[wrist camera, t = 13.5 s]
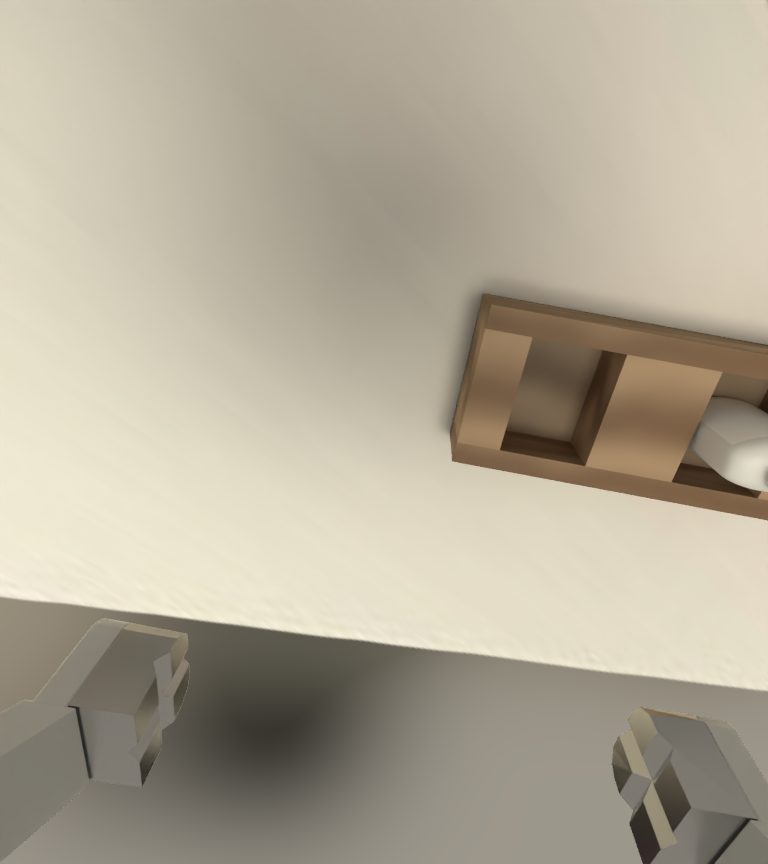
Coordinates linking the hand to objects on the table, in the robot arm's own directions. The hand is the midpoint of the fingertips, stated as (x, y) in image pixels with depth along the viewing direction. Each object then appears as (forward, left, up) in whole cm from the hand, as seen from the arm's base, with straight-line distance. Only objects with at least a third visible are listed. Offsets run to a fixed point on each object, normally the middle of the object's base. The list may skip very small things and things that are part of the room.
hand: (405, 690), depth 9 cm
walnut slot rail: (+2, +16, -30) cm, 34 cm away
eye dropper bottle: (+2, +22, -29) cm, 36 cm away
